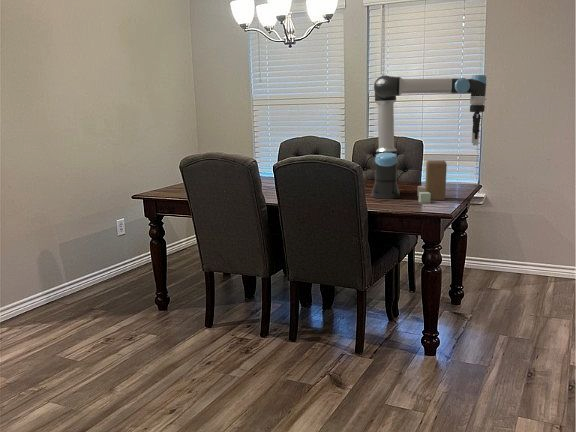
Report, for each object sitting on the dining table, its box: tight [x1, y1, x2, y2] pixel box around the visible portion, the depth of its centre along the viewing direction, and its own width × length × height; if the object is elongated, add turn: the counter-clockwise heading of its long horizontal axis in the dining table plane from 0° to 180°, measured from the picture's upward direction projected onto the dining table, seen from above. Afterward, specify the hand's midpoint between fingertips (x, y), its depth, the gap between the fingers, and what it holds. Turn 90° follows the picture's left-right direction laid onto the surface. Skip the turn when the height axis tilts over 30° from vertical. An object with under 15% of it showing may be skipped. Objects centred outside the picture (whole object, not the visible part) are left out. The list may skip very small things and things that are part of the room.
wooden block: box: [424, 160, 447, 201], centre depth 301 cm, size 10×10×20 cm
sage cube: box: [418, 192, 431, 204], centre depth 294 cm, size 5×5×5 cm
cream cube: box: [416, 185, 425, 197], centre depth 313 cm, size 5×5×5 cm
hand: (474, 144), depth 310 cm, fingers open, 13 cm apart
